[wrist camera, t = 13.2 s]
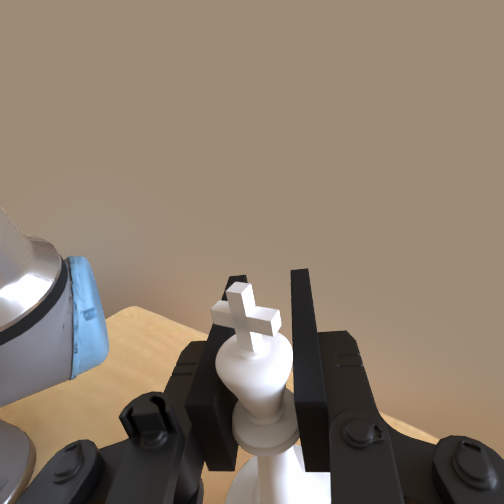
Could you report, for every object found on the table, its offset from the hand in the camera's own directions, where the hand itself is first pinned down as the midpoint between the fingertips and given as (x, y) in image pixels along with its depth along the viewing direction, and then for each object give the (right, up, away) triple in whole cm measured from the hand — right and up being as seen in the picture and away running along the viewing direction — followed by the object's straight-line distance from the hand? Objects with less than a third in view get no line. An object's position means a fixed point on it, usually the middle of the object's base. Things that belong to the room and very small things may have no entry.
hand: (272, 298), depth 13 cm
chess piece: (+1, -8, -3) cm, 8 cm away
